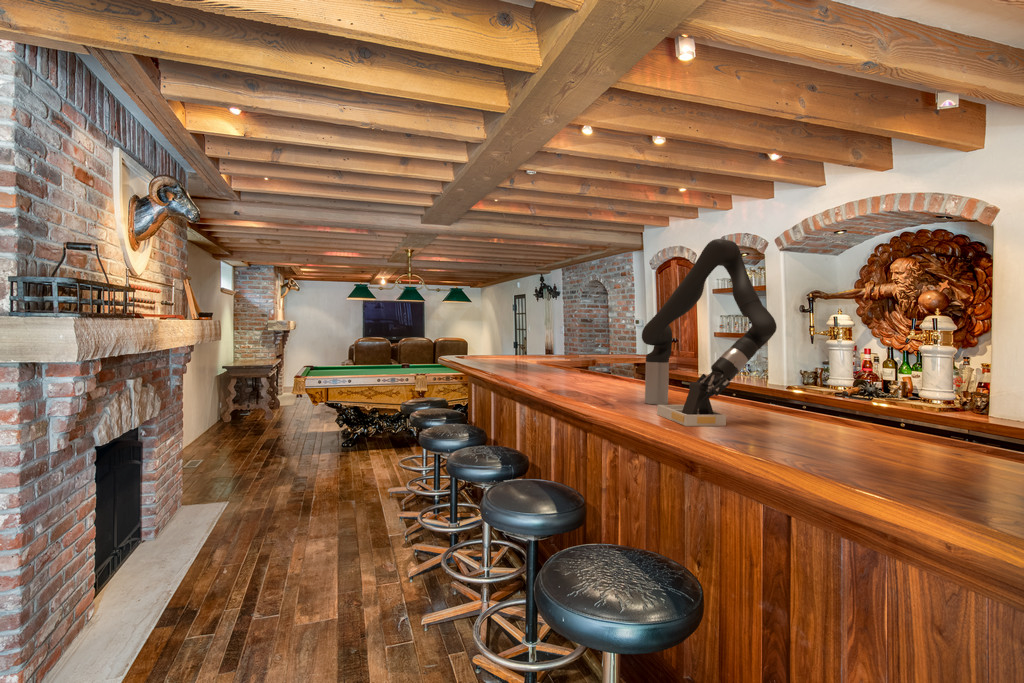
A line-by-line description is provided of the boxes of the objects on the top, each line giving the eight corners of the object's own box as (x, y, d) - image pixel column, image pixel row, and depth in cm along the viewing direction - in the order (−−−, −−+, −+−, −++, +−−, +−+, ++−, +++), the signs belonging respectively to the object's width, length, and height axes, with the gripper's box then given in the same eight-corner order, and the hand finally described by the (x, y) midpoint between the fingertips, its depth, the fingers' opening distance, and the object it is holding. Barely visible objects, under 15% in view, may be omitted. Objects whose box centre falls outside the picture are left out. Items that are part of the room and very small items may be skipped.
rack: (656, 414, 174) (656, 404, 174) (692, 414, 176) (692, 404, 176) (685, 426, 153) (685, 415, 153) (726, 426, 155) (726, 415, 155)
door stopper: (704, 417, 163) (705, 381, 163) (715, 420, 157) (716, 383, 157) (680, 417, 162) (681, 381, 161) (690, 421, 156) (690, 383, 155)
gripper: (710, 355, 167) (677, 389, 166) (735, 357, 153) (699, 395, 152) (724, 370, 168) (691, 405, 167) (750, 374, 154) (714, 412, 153)
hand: (695, 400), depth 159 cm, fingers closed on door stopper, 6 cm apart
